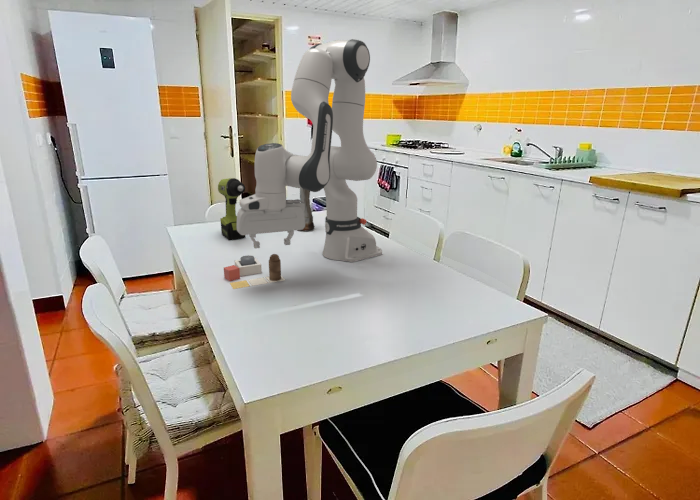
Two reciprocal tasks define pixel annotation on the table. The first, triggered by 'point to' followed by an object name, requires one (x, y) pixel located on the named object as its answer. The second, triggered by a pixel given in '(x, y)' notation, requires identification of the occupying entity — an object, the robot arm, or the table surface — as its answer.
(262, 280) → the board
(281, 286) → the table surface
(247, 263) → the dome
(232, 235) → the cordless drill
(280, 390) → the table surface
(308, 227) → the statue
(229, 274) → the red cube
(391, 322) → the table surface
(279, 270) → the pawn
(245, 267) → the housing
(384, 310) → the table surface
